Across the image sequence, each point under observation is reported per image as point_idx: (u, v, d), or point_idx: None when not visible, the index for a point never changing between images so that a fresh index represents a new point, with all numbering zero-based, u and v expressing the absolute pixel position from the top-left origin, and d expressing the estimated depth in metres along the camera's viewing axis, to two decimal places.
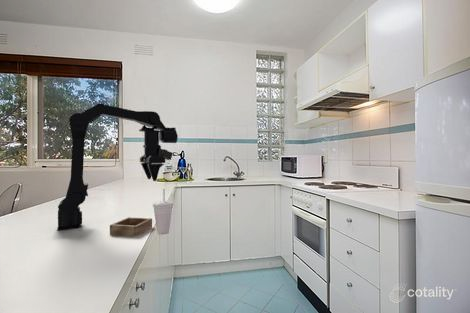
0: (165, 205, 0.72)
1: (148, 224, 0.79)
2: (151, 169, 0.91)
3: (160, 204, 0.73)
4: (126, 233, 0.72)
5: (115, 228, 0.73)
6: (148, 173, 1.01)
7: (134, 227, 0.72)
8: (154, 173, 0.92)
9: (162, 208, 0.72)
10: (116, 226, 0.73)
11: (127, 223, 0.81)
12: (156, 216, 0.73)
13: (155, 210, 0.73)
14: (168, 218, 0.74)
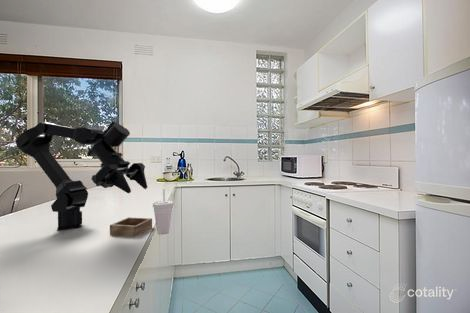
0: (165, 205, 0.72)
1: (148, 224, 0.79)
2: None
3: (160, 204, 0.73)
4: (126, 233, 0.72)
5: (115, 228, 0.73)
6: None
7: (134, 227, 0.72)
8: None
9: (162, 208, 0.72)
10: (116, 226, 0.73)
11: (127, 223, 0.81)
12: (156, 216, 0.73)
13: (155, 210, 0.73)
14: (168, 218, 0.74)
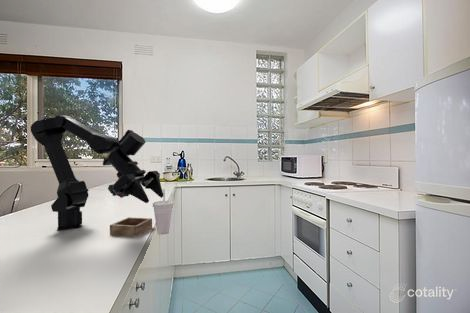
0: (165, 205, 0.72)
1: (148, 224, 0.79)
2: None
3: (160, 204, 0.73)
4: (126, 233, 0.72)
5: (115, 228, 0.73)
6: None
7: (134, 227, 0.72)
8: None
9: (162, 208, 0.72)
10: (116, 226, 0.73)
11: (127, 223, 0.81)
12: (156, 216, 0.73)
13: (155, 210, 0.73)
14: (168, 218, 0.74)
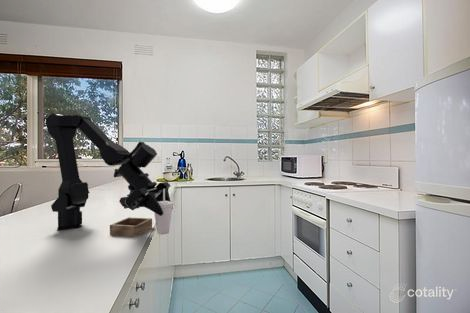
0: (165, 205, 0.72)
1: (148, 224, 0.79)
2: None
3: (160, 204, 0.73)
4: (126, 233, 0.72)
5: (115, 228, 0.73)
6: None
7: (134, 227, 0.72)
8: None
9: (162, 208, 0.72)
10: (116, 226, 0.73)
11: (127, 223, 0.81)
12: (156, 216, 0.73)
13: None
14: (168, 218, 0.74)
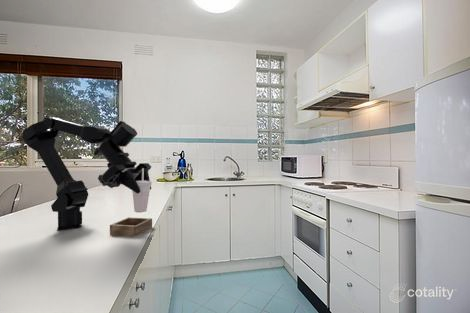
0: (143, 183, 0.74)
1: (148, 224, 0.79)
2: None
3: (138, 182, 0.74)
4: (126, 233, 0.72)
5: (115, 228, 0.73)
6: None
7: (134, 227, 0.72)
8: None
9: (139, 186, 0.74)
10: (116, 226, 0.73)
11: (127, 223, 0.81)
12: (134, 194, 0.74)
13: None
14: (145, 196, 0.75)
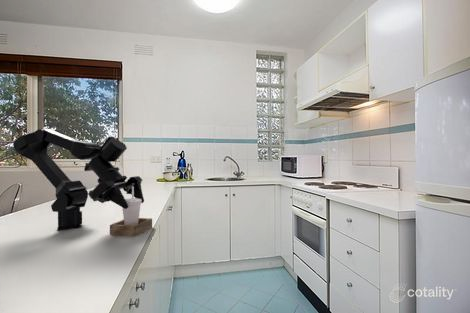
0: (132, 202, 0.74)
1: (148, 224, 0.79)
2: None
3: (127, 201, 0.75)
4: (126, 233, 0.72)
5: (115, 228, 0.73)
6: None
7: (134, 227, 0.72)
8: None
9: (129, 205, 0.74)
10: (116, 226, 0.73)
11: None
12: (124, 213, 0.75)
13: None
14: (136, 215, 0.76)
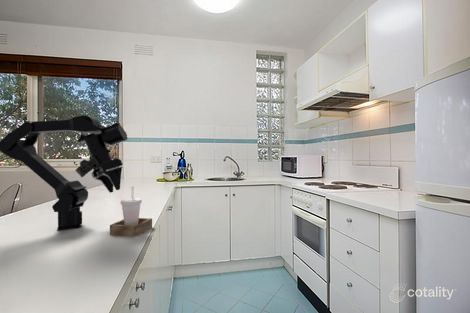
0: (132, 202, 0.74)
1: (148, 224, 0.79)
2: None
3: (127, 201, 0.75)
4: (126, 233, 0.72)
5: (115, 228, 0.73)
6: None
7: (134, 227, 0.72)
8: None
9: (129, 205, 0.74)
10: (116, 226, 0.73)
11: None
12: (123, 213, 0.75)
13: (123, 207, 0.75)
14: (135, 215, 0.76)
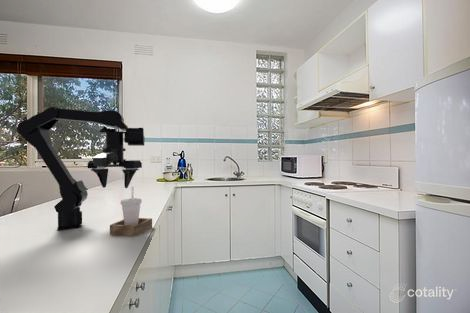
0: (132, 202, 0.74)
1: (148, 224, 0.79)
2: None
3: (127, 201, 0.75)
4: (126, 233, 0.72)
5: (115, 228, 0.73)
6: None
7: (134, 227, 0.72)
8: None
9: (129, 205, 0.74)
10: (116, 226, 0.73)
11: None
12: (123, 213, 0.75)
13: (123, 207, 0.75)
14: (135, 215, 0.76)
